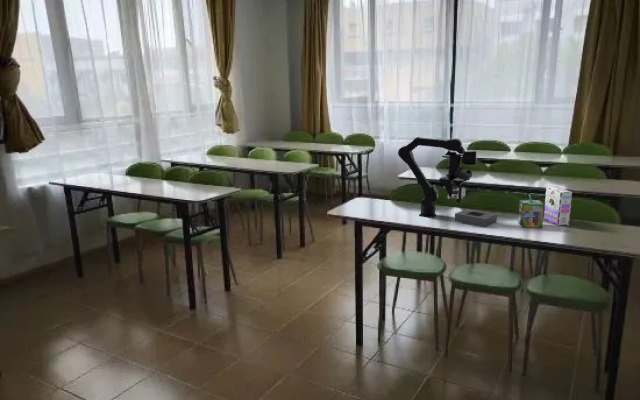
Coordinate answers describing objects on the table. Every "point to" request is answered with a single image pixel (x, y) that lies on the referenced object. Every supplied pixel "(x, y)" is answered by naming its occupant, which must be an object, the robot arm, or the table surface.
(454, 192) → the lens
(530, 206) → the chalk box
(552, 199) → the candy box
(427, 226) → the table surface
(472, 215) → the camera body
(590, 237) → the table surface
